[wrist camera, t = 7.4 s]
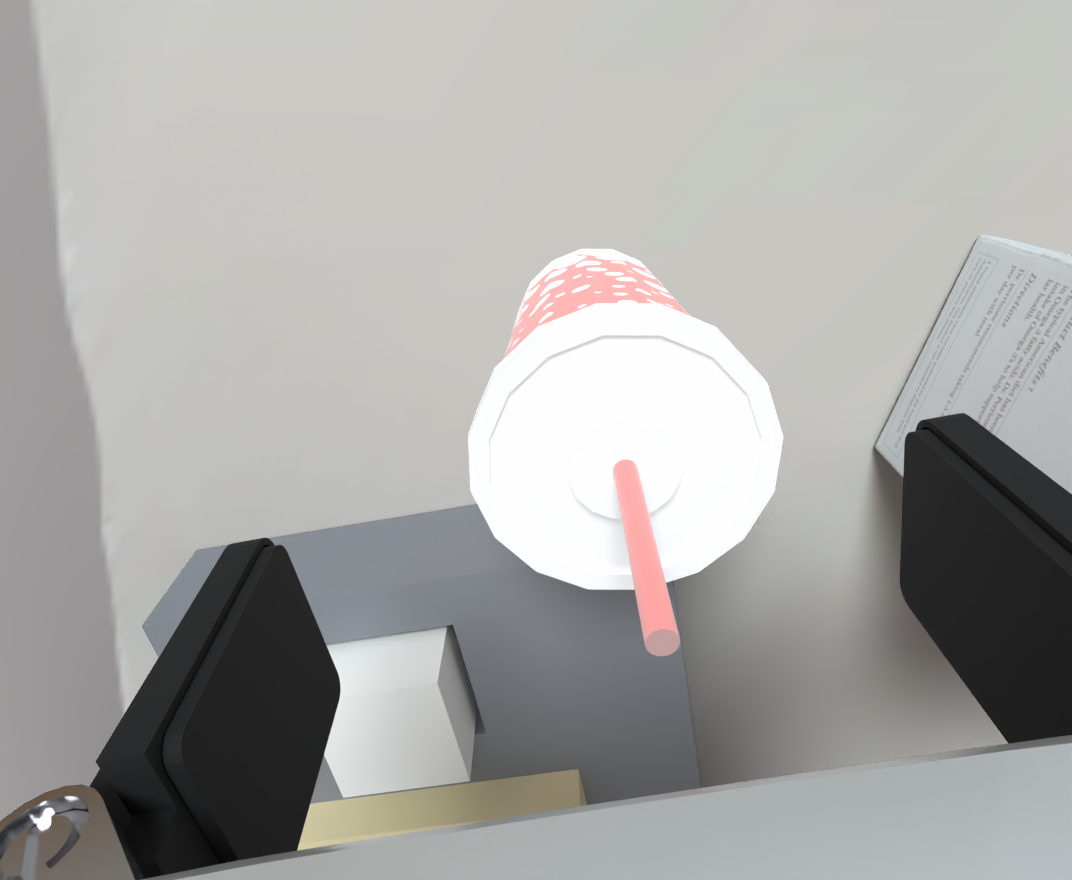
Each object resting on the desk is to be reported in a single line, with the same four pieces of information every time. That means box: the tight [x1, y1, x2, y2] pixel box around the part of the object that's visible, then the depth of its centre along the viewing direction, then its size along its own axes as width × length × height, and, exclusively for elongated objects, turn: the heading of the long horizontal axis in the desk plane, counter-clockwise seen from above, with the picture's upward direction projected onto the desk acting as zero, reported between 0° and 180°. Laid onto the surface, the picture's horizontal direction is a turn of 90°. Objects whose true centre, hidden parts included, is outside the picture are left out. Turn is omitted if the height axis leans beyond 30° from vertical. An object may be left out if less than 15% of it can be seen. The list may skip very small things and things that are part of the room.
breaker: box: [324, 625, 478, 798], centre depth 24 cm, size 4×4×4 cm
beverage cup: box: [468, 249, 784, 656], centre depth 16 cm, size 6×6×14 cm
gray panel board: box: [142, 504, 701, 851], centre depth 27 cm, size 16×19×6 cm
